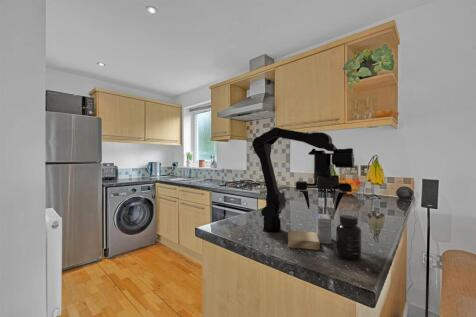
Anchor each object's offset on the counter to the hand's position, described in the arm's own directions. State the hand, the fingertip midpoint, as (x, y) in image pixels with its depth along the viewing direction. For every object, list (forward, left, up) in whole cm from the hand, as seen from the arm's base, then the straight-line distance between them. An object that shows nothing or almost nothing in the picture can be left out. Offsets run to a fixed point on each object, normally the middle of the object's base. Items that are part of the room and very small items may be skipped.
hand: (321, 209), depth 81 cm
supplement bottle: (+6, -13, -11) cm, 18 cm away
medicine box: (0, 0, -11) cm, 11 cm away
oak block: (-7, -5, -11) cm, 14 cm away
